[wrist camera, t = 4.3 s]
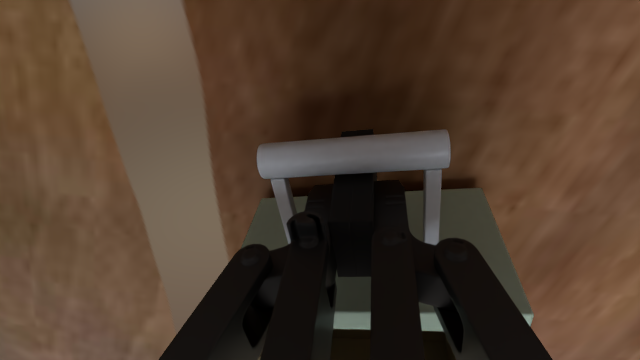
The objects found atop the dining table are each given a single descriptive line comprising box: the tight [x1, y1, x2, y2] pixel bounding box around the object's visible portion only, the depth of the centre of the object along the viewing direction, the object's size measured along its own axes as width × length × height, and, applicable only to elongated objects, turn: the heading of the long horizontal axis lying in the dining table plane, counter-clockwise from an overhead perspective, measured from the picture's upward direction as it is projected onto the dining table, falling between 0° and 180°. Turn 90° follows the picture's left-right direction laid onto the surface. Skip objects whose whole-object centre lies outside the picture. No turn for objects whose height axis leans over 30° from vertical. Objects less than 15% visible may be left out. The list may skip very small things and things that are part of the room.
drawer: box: [241, 129, 534, 360], centre depth 19 cm, size 20×13×8 cm, turn 9°
